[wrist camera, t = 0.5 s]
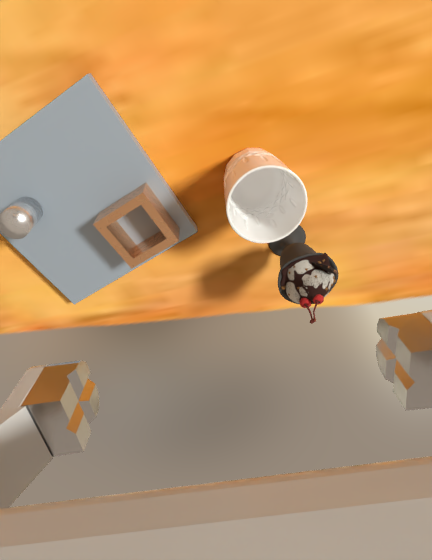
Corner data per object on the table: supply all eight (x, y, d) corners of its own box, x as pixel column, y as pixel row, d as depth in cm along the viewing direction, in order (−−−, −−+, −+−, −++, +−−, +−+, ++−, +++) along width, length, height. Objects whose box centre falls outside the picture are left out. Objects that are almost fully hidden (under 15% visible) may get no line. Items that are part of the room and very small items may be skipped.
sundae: (268, 267, 51) (294, 340, 38) (257, 225, 47) (282, 289, 35) (315, 253, 50) (358, 323, 37) (307, 209, 47) (352, 270, 34)
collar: (99, 212, 43) (92, 224, 40) (146, 182, 42) (142, 192, 39) (135, 254, 47) (131, 268, 44) (179, 228, 45) (178, 240, 42)
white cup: (248, 126, 41) (264, 147, 32) (298, 169, 44) (324, 199, 35) (205, 182, 44) (209, 214, 35) (254, 219, 47) (269, 257, 38)
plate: (-46, 178, 42) (-54, 182, 40) (90, 73, 37) (87, 74, 36) (76, 298, 51) (74, 304, 50) (197, 226, 47) (197, 231, 46)
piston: (7, 205, 42) (-10, 221, 38) (28, 191, 42) (12, 205, 38) (28, 227, 44) (13, 244, 40) (49, 213, 43) (35, 229, 39)
